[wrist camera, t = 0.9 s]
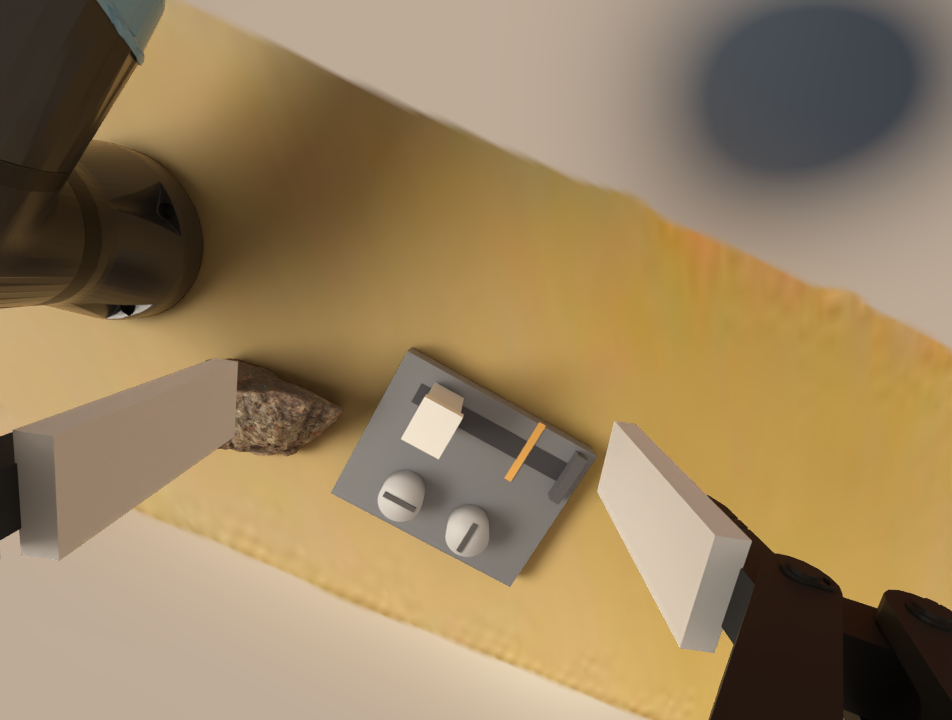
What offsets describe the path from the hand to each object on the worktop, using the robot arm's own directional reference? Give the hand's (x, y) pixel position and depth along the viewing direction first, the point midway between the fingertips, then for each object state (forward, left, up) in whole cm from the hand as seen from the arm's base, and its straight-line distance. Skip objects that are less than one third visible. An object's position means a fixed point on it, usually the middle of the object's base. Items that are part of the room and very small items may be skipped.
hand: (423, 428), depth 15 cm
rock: (-13, -16, -27) cm, 33 cm away
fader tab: (+1, -7, -24) cm, 25 cm away
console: (+6, -12, -26) cm, 29 cm away
